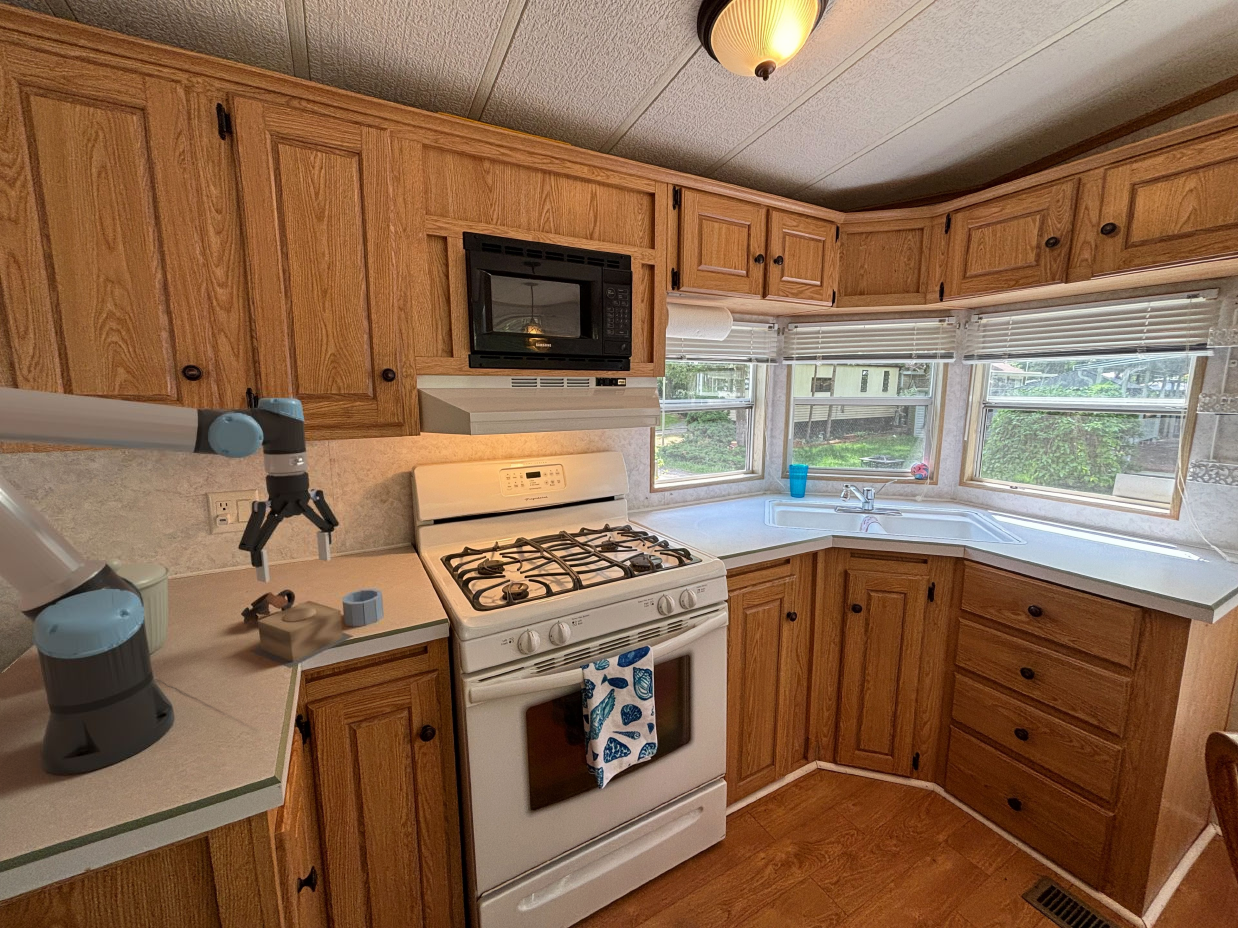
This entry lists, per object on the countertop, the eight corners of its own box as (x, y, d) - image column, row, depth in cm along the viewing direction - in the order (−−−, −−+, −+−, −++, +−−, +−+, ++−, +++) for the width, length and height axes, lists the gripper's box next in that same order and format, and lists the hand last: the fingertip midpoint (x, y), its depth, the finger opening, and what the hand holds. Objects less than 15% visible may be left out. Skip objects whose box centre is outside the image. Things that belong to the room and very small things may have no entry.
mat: (290, 669, 102) (290, 667, 102) (249, 652, 108) (249, 650, 108) (353, 637, 114) (353, 635, 114) (313, 624, 120) (313, 622, 120)
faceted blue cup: (361, 630, 117) (359, 606, 116) (336, 622, 121) (333, 599, 120) (391, 615, 125) (389, 592, 124) (367, 608, 128) (365, 586, 127)
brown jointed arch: (282, 634, 116) (256, 608, 114) (253, 647, 119) (227, 622, 116) (314, 600, 127) (291, 575, 125) (286, 612, 130) (264, 588, 127)
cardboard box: (293, 661, 104) (289, 630, 102) (261, 649, 108) (257, 619, 107) (342, 637, 113) (340, 608, 112) (311, 626, 118) (308, 599, 117)
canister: (169, 663, 103) (154, 565, 100) (43, 690, 95) (21, 583, 91) (190, 626, 119) (177, 539, 115) (83, 645, 110) (66, 552, 107)
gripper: (234, 484, 93) (245, 594, 96) (351, 465, 116) (358, 554, 119) (208, 481, 96) (221, 587, 99) (328, 462, 119) (335, 550, 122)
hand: (295, 569), depth 109 cm, fingers open, 13 cm apart
